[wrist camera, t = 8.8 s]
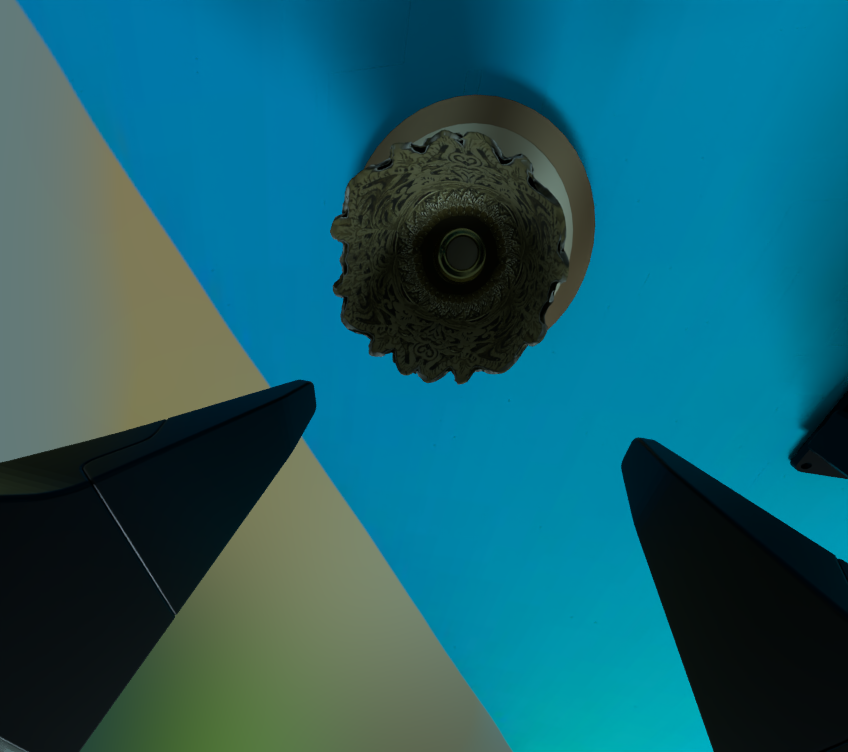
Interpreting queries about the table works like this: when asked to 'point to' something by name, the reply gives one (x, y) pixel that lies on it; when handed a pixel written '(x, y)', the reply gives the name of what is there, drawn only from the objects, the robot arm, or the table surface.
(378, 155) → the hub plate
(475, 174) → the cup
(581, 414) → the table surface
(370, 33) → the table surface
